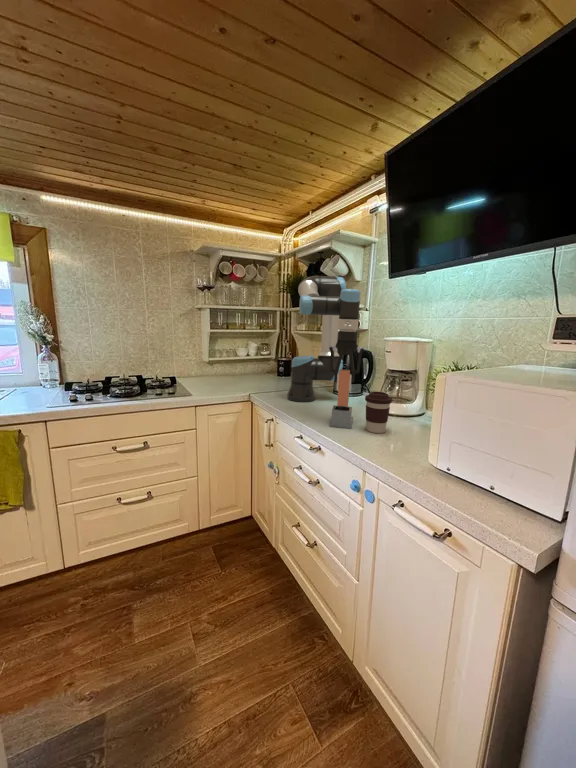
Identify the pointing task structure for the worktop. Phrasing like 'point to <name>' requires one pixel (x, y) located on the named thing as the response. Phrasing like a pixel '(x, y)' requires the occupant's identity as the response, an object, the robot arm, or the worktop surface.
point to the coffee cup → (377, 411)
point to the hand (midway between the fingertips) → (343, 389)
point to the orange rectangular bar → (343, 387)
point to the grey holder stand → (341, 417)
